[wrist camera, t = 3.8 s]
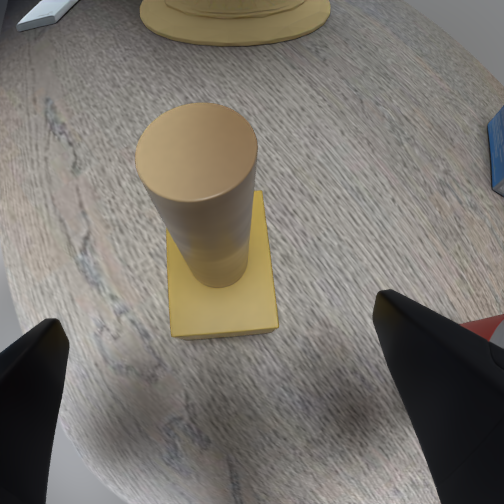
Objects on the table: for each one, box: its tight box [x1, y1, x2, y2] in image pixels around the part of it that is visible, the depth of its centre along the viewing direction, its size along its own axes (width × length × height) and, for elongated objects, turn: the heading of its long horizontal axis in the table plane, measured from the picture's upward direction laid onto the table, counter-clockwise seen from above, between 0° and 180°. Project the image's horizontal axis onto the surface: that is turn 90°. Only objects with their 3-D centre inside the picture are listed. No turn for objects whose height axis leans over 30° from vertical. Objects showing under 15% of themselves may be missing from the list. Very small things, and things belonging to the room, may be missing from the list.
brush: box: [135, 103, 279, 340], centre depth 13 cm, size 5×7×13 cm
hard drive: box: [16, 0, 78, 31], centre depth 30 cm, size 2×8×12 cm
